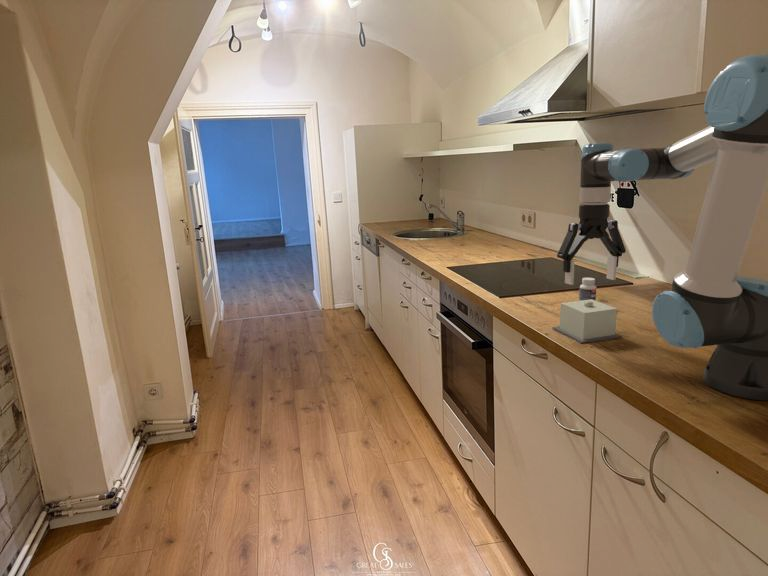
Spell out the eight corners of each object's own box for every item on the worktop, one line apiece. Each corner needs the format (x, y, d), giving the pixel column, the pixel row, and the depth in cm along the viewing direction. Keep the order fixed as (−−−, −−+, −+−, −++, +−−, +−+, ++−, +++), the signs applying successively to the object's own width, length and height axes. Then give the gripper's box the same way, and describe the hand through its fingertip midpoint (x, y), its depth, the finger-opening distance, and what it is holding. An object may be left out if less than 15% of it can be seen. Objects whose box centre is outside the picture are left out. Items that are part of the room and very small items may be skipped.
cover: (615, 334, 140) (617, 305, 138) (582, 339, 137) (584, 309, 135) (589, 323, 149) (591, 295, 147) (559, 328, 146) (560, 299, 144)
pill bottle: (592, 307, 167) (594, 281, 165) (576, 305, 170) (578, 279, 168) (597, 303, 171) (599, 278, 169) (581, 301, 174) (582, 276, 172)
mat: (621, 337, 139) (621, 335, 139) (581, 343, 135) (581, 341, 135) (590, 323, 151) (590, 321, 151) (552, 329, 148) (552, 327, 147)
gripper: (623, 200, 141) (618, 274, 146) (545, 205, 135) (542, 283, 139) (643, 201, 134) (637, 279, 139) (562, 206, 128) (559, 288, 132)
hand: (590, 281), depth 139 cm, fingers open, 13 cm apart
